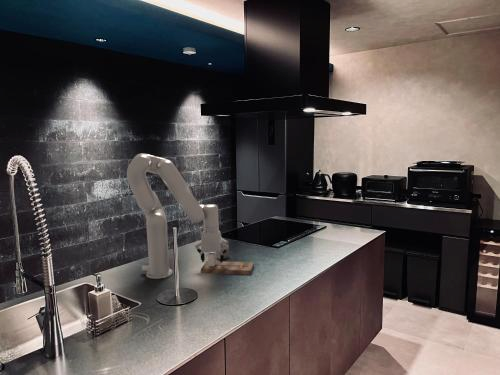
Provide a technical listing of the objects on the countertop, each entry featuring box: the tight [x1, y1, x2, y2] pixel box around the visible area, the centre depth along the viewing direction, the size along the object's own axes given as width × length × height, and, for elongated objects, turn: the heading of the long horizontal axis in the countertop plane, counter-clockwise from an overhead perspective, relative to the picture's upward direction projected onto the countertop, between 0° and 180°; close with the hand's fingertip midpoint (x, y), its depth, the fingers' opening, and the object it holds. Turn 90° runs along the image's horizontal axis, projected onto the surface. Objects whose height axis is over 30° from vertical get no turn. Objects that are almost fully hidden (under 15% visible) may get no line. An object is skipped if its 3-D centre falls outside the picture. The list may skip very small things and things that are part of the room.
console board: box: [200, 260, 255, 276], centre depth 194 cm, size 25×12×2 cm, turn 82°
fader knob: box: [207, 252, 217, 266], centre depth 194 cm, size 3×5×6 cm, turn 172°
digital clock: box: [216, 236, 230, 260], centre depth 214 cm, size 16×9×11 cm, turn 16°
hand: (212, 261), depth 195 cm, fingers open, 9 cm apart
